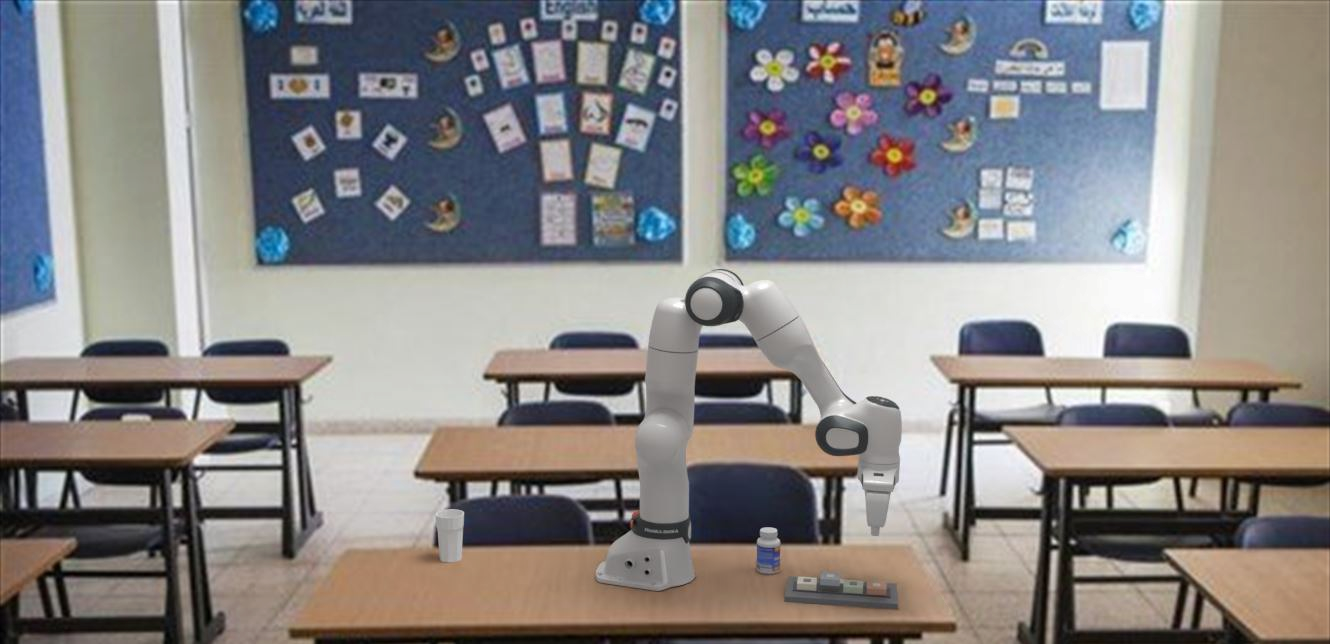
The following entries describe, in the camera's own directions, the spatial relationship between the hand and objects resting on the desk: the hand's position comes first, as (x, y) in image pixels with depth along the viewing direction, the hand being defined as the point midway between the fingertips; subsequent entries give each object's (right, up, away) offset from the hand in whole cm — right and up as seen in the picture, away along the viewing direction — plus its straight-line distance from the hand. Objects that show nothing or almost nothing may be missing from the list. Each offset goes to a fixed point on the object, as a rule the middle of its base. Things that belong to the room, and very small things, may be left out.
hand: (875, 533), depth 270 cm
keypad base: (-7, -14, +3) cm, 16 cm away
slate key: (-9, -11, +3) cm, 15 cm away
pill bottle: (-22, -12, +17) cm, 30 cm away
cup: (-96, -10, +23) cm, 99 cm away
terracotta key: (+1, -13, +1) cm, 13 cm away
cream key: (-14, -12, +4) cm, 19 cm away
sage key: (-4, -13, +2) cm, 13 cm away
